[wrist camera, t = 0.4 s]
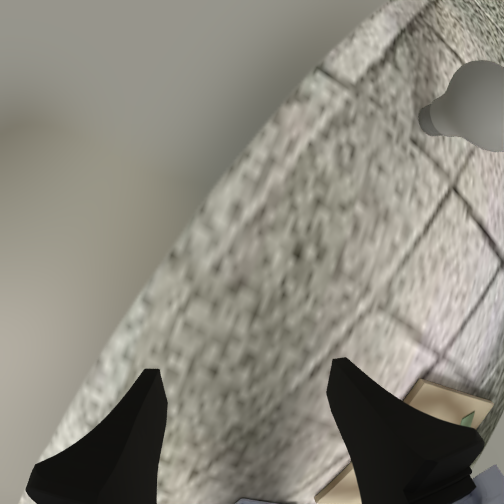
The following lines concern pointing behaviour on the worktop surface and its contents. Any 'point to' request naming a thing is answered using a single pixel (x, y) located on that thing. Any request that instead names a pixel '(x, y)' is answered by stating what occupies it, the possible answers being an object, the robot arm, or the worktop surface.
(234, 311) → the worktop surface
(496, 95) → the lightbulb
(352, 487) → the dial board
